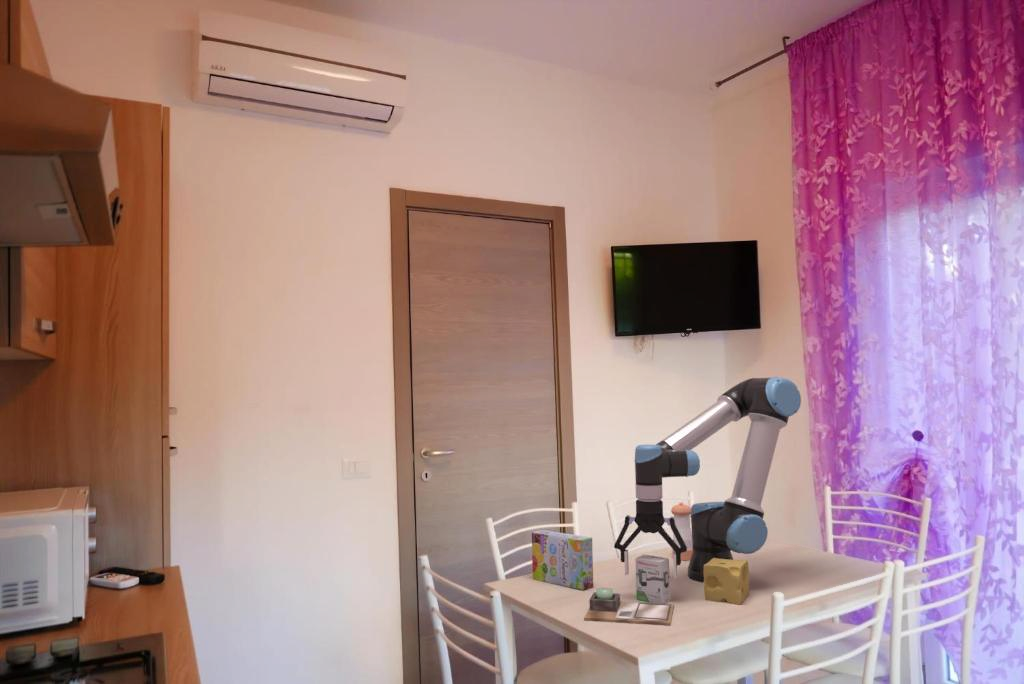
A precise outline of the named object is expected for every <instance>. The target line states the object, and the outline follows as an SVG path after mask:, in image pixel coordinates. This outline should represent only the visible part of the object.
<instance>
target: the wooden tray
mask: <svg viewBox="0 0 1024 684" xmlns="http://www.w3.org/2000/svg"><path fill="white" fill-rule="evenodd" d="M620 594H621V593H614V592H613V600H604V599H597V592H593V593H592V595H591V596H590V598H589V601H588V603H589V608H588V610H587V612H586V613H585V615H584V617H583V620H584V621H590V622H591V621H593V622H608V623H622V624H623V623H627V624H639V625H640V624H642V625H656V626H657V625H658V626H659V625H660V626H671V624H672V618H673V613H674V607H675V604H674V603H664V604H660V603H652V602H640V601H639V602H638V601H621V595H620Z"/></svg>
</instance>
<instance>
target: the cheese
mask: <svg viewBox="0 0 1024 684" xmlns="http://www.w3.org/2000/svg"><path fill="white" fill-rule="evenodd" d="M703 573H704V582H703V591H704V598H705V601H711V602H727V603H728V604H734V605H738V606H739V605H742V603H743V601H745V600H746V599H747V598H748V597H749V592H750V569H749V561H748V560H747V559H746V560H744V559H734V560H728V559H718V558H713V559H711V560H710V561H709V562H708V563H706V564H705V565H704V571H703Z"/></svg>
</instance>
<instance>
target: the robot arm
mask: <svg viewBox="0 0 1024 684" xmlns="http://www.w3.org/2000/svg"><path fill="white" fill-rule="evenodd" d="M801 403H802V397H801V392H800V390H799V389H798V386H797V385H796V384H795V383H794V382H793V380H790V379H789V378H786V377H778V376H772V377H752V378H748V379H745V380H743V381H740V382H739V383H738V384H735V385H733V386H732V387H730V389H728V390H726V391H725V392H724V393H722V394H720V395H719V396H718V397H717V401H716V402H715V403H713V404H712V405H710V406H709V407H708V408H706V409H705V410H703V411H702V412H700V413H699V414H698V415H696V416H695V417H694V418H692V419H690V420H689V421H687V422H686V423H685V424H683V425H682V426H680V427H679V428H678V429H677V430H675V431H673V432H672V433H671V434H669V435H668V436H666V437H665V438H663V439H662V440H661V441H659V442H657V443H656V444H639V445H637V446H636V447H635V449H634V471H635V474H634V476H635V498H636V500H635V516H631V515H629V514H627V515H625V518H624V524H623V525H622V526H623V527H622V528H621V531H620V533H619V534H618V537H617V539H616V540H615V543H614V546H613V547H614V549H617V550H619V551H620V562H621V563H624V576H628V575H629V573H630V572H629V571H630V568H629V567H630V566H629V565H630V564H629V549H626V548H628V547H629V545H630V544H631V543H632V542H633V541H634V540H635V538H637V536H638V535H639V534H640V533H641V532H643V534H644V533H645V534H648V533H650V534H656V533H658V534H659V535H660V536H661V537H662V538H663V539H664V540H665V542H666V543H667V544H668V545H669V546H670V548H671V549H672V551H673V550H674V551H675V552H674V553H673V552H672V559H673V560H672V562H673V565H672V566H673V578H674V579H677V578H678V566H681V564H682V561H681V553H682V552H686V551H687V547H686V545H685V543H684V541H683V539H682V537H681V535H680V533H679V531H678V529H677V527H676V525H675V520H674V516H670V517H664V510H663V509H664V508H663V507H664V503H663V500H662V499H663V478H680V477H682V478H683V477H685V478H688V477H693V476H696V475H697V474H698V473H699V471H700V469H701V463H700V462H701V461H700V458H699V457H700V456H699V454H698V453H697V452H696V451H695V450H693V449H694V448H696V447H698V446H699V445H701V444H702V443H703V442H705V441H706V440H707V439H708V438H710V437H711V436H713V435H714V434H716V433H717V432H718V431H719V430H721V429H722V428H725V427H726V426H727V425H729V424H730V423H732V422H738V421H740V420H742V418H745V417H748V418H749V420H750V425H749V430H748V433H747V437H746V441H745V445H744V448H743V451H742V456H741V459H740V462H739V463H740V464H739V467H738V470H737V474H736V478H735V482H734V485H733V489H732V493H731V496H730V497H729V498H727V499H725V500H724V501H709V502H708V501H706V502H698V503H694V504H692V505H691V507H690V508H691V514H690V527H691V533H692V547H693V551H692V555H691V559H690V560H689V563H688V566H687V577H688V578H689V579H691V580H694V581H698V582H703V583H704V573H703V571H704V565H705V564H706V563H708V562H709V561H710V560H711V559H713V558H718V559H728V560H735V559H734V557H733V555H732V552H734V553H737V554H744V555H750V554H754V553H756V552H757V551H759V550H761V549H762V548H763V546H764V545H765V543H766V541H767V538H768V535H769V534H768V530H769V529H768V527H767V524H766V521H765V520H764V515H765V511H764V510H763V507H762V501H763V497H764V494H765V490H766V486H767V482H768V478H769V475H770V470H771V467H772V461H773V458H774V454H775V449H776V447H777V443H778V439H779V435H780V431H781V430H782V429H783V428H784V427H786V426H787V425H788V422H789V417H792V416H794V415H795V414H797V413H798V411H799V410H800V408H801ZM633 522H635V524H636V525H637V528H636V529H634V531H633V532H632V534H630V536H629V537H628V538H627V540H625V542H624V543H623V544H621V542H622V541H623V539H624V537H625V535H626V532H627V530H628V529H629V527H630V525H632V524H633ZM665 523H666V524H667V526H669V528H670V529H671V531H672V533H674V535H675V537H676V539H677V541H678V543H679V545H680V548H679V547H678V546H677V544H676V543H675V542H674V541H673V538H672V537H671V536H670V535H669V534H668V533H667V532H666V530H665V528H663V525H664V524H665ZM731 551H732V552H731Z"/></svg>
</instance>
